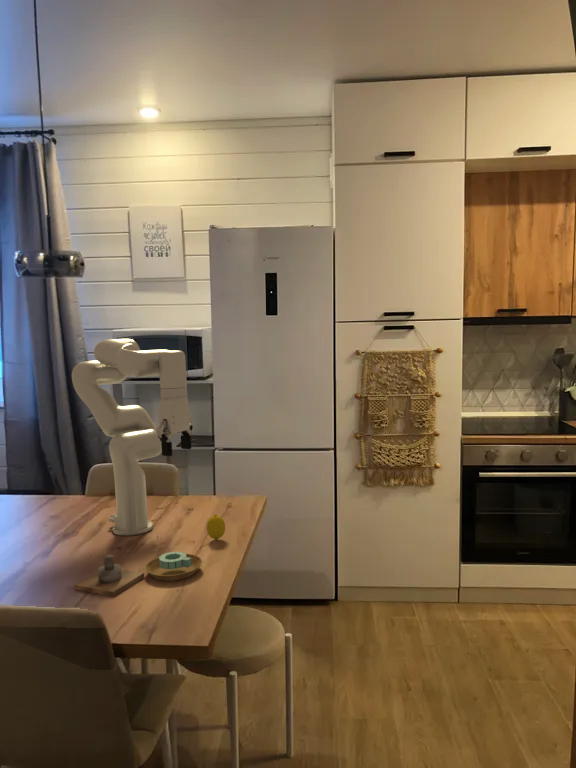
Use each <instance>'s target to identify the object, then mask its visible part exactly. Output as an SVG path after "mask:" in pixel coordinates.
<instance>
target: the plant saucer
mask: <svg viewBox="0 0 576 768" xmlns="http://www.w3.org/2000/svg"><path fill="white" fill-rule="evenodd" d="M185 554H186V556H187V557H188V558H191V562H192V565H191V566H190V567H189V568H187V567H181V568H177V569H176V568H175V569H163V568H161V567H160V566H159V557H160V556H158V557H156V558H155V557H154V559H151V560H150V561H148V562H147V563H146V565H145V567H144V569H145V571H146V573H148V574H149V576H151V577H152V578H154V579H156V580H157V581H163V582H175V580H176V581H181V580H184V579H187V578H189V577H191V576H193V575H194V574H195V573H196V572H198V569H199V568H200V567H201V565H202V563H203V559H202V558H201V557H200V556H197V555H195V554H191V553H185Z"/></svg>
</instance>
